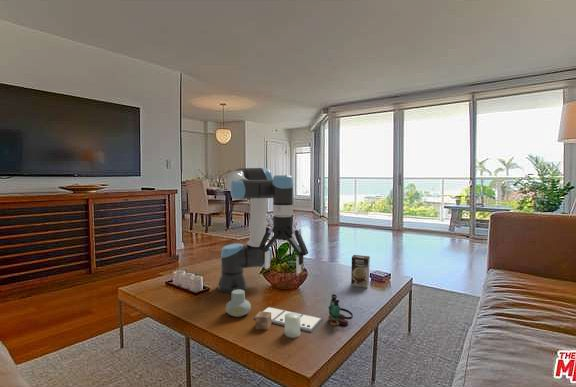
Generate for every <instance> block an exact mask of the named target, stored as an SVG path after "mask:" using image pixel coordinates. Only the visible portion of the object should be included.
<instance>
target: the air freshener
mask: <svg viewBox="0 0 576 387" xmlns="http://www.w3.org/2000/svg"><path fill="white" fill-rule="evenodd" d="M230 294H231V295H230V296H231V298H230V299H231V300H229V301H228V302H227V303H226V306H225V311H226V313H227V314H228V315H229V316H231V317H235V318H239V317H240V318H241V317H243V316H245V315H247V314H248V313H250V311H251V308H252V305H251V303H250V301H249V300H248V299H246V291H245V290H240V289H238V290H233V291H232V292H231V293H230Z"/></svg>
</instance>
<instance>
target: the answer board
mask: <svg viewBox="0 0 576 387" xmlns="http://www.w3.org/2000/svg"><path fill="white" fill-rule="evenodd" d="M261 312H271V324H274V325H278V326H282V327H285V314H287V313H298V314H300V331H303V332H308V333H312V332H313V331H314V330H315V329H316V328H317V326H319V324H321V322H322V321H323V317H318V316H313V315H309V314H305V313H301V312H294V311H289V310H286V309H281V308H277V307H272V306H268V307H267V308H265V309H263V310H262V311H261ZM253 319H254V320H256V315H255V316H254V318H253Z"/></svg>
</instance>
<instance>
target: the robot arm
mask: <svg viewBox="0 0 576 387" xmlns="http://www.w3.org/2000/svg"><path fill="white" fill-rule="evenodd" d="M293 180H294V179H293V176H292V175H290V174H289V175H286V174H285V175H284V174H283V175H281V174H280V175H279V174H277V175H274V176H273V174H272V171H271V170H270V169H269V168H265V167H239V168H235V169H233V170H231V171H229V172H228V173H227V175H226V176H225V184H226V187H228V189H229V190H230V196H231V198H232V199H234V200H236V199H237V200H249V199H250V209H249V210H250V211H249V212H250V216H249V219H250V220H249V240H248V241H247V242H246V246H245V245H243V243H230V244H227V245H225V246H223V247H222V248H221V251H220V252H221V254H220V262H221V264H220V267H221V269H220V270H221V274H220V278H219V281H218V285H217V290H218V291H219V292H221V293H225V294H231V292H232V291H233V290H238V289H240V290H244V291H245V290H247V288H248V287H247V286H248V284H247V281H246V278H245V274H244V269H249V268H250V269H252V268H262V267H263V268H264V269H266V270H267V269H269V268H270V267H271V260H272V255H273V254H272V250H273V249H272V246H273V245H274V244H275V242H276V241H277V240H278V241H287V242H288V243H289V244H290V246H291V247H292V248H293V250H294V251H295V253H296V254H297V256H296V257H295V258H296V266H295V267H296V272H295V273H296V274H297V275H299V274H300V273H302V265H303V264H304V256H307V255H308V254H309V251H308V248H307V246H306V243H305V242H304V239H303V236H302V233H301V229H300V228H297V229H294V228H293V225H294V224H293V221H294V219H293V216H292V215H293V214H294V209H293V207H294V206H293V204H294V200H293V199H294V198H293V197H294V196H293V195H294V182H293ZM267 199H272V215H273V216H272V225H273V227H272V226H267V203H268V202H267ZM272 233H273V236H272V237H271V239H270V240H269V238H270V235H271V234H272ZM293 235H294V236H295V237H294V236H293ZM295 239H296V240H295ZM268 240H269V241H268Z"/></svg>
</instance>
